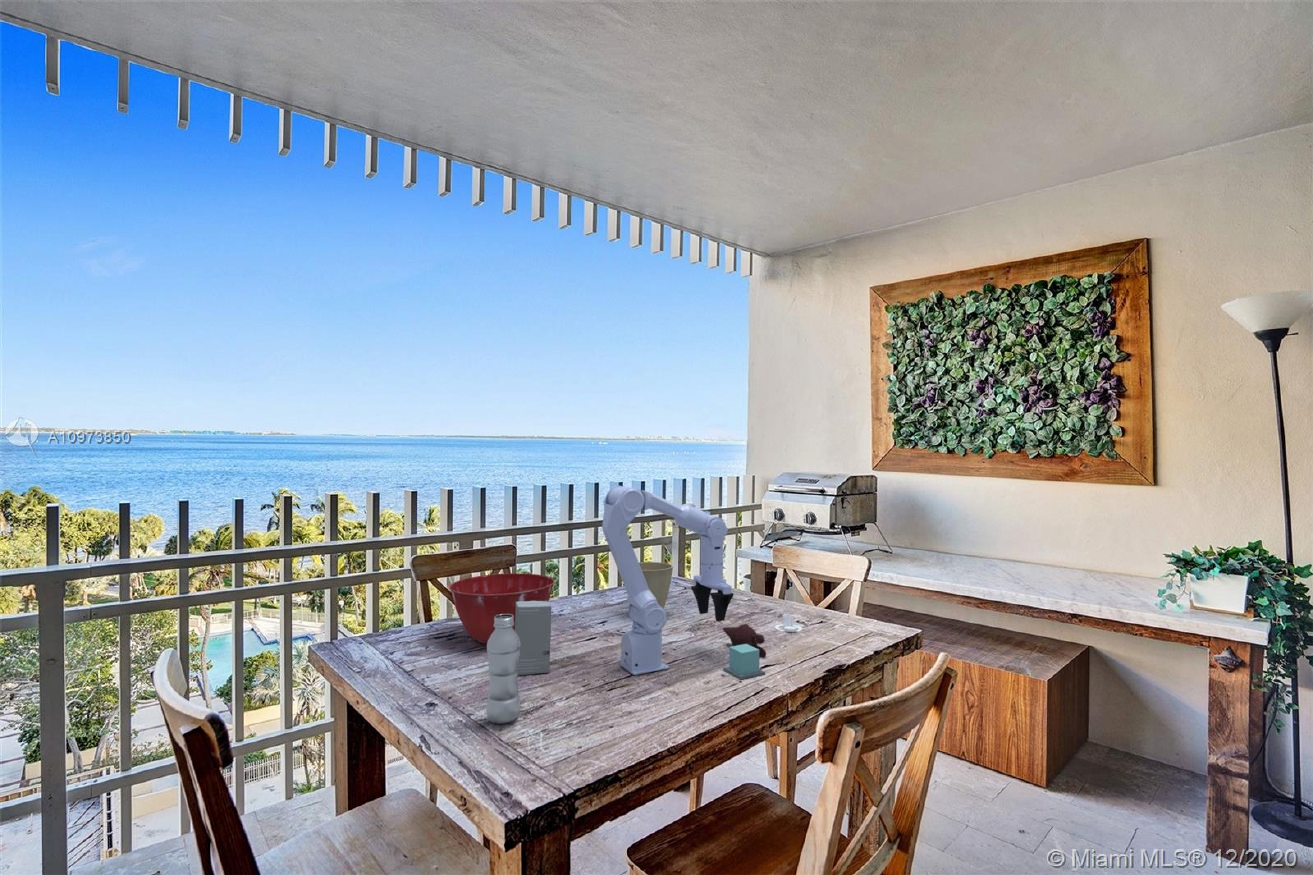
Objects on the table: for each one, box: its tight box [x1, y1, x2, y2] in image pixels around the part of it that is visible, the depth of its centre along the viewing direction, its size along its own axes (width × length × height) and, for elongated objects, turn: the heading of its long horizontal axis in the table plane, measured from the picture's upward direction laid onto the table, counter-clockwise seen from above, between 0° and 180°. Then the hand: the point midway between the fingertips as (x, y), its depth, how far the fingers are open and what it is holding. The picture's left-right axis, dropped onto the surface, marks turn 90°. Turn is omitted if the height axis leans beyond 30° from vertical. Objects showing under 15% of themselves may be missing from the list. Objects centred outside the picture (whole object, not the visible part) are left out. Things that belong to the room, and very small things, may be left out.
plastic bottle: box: [485, 614, 521, 725], centre depth 118 cm, size 6×7×20 cm
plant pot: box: [638, 561, 674, 610], centre depth 191 cm, size 15×15×16 cm
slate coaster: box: [722, 666, 766, 681], centre depth 143 cm, size 7×7×1 cm
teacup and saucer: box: [774, 613, 803, 633], centre depth 179 cm, size 9×8×4 cm
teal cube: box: [728, 644, 760, 675], centre depth 143 cm, size 5×5×5 cm
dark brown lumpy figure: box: [722, 624, 767, 658], centre depth 159 cm, size 7×8×15 cm
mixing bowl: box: [448, 572, 556, 645], centre depth 169 cm, size 28×28×15 cm
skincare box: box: [515, 600, 552, 677], centre depth 145 cm, size 8×7×16 cm
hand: (711, 616), depth 155 cm, fingers open, 7 cm apart
